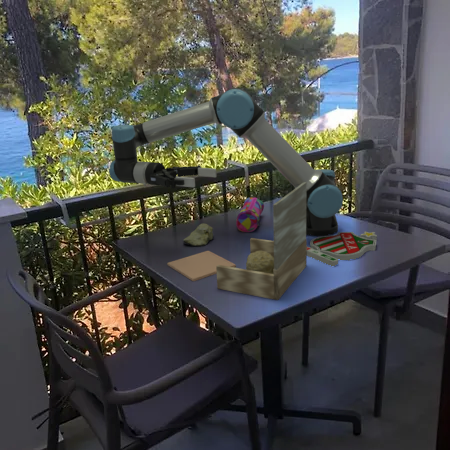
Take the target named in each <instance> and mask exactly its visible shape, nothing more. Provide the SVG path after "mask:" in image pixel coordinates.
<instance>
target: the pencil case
mask: <svg viewBox="0 0 450 450" xmlns="http://www.w3.org/2000/svg"><path fill="white" fill-rule="evenodd" d="M264 210H265V205H264V202H263V201H262V200H260V199H259V198H257V197H247V198H246V199H245V200H244V203H243V206H242V208H241V209H240V211H239V213H238V215H237V217H236V219H235V220H236V221H235V224H236V228H237V229H238V231H240V232H242V233H252V232H255V230H256V229H257V228H258V226H261V225H262V224H261V222H260V219H261V215H262V213H263V211H264Z"/></svg>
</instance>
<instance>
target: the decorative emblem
mask: <svg viewBox="0 0 450 450" xmlns="http://www.w3.org/2000/svg"><path fill="white" fill-rule="evenodd" d="M359 235H360V236H359ZM359 235H358V234H355V232H353V231H337V233H335V234H331V235H327V236H316V237H315V238H312V239H311V240H310V242H309V246H307V257H309V258H311V257H312V259H313V258H314V259H313V260H316V261H318V260H319V261H318V262H320V261H321V262H320V263H322V262H323V264H325V263H326V264H325V265H327V264H328V265H327V266H329V265H331V266H330V267H332V266H335V265H337V264H338V265H339V261H340V260H348V261H351V260H350V259H354V260H357V259H356V258H358V259H360V258H361V256H362V255H363V256H364V254H365V253H367V252H369V251H371V252H373V251H374V252H375V251H376V247H377V241H378V235H377V234H376V232H375V231H372V232H368V231H364V232H363V233H361V234H359ZM363 256H362V257H363ZM359 257H360V258H359ZM338 259H340V260H338ZM335 267H336V266H335Z"/></svg>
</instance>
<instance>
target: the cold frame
mask: <svg viewBox="0 0 450 450" xmlns="http://www.w3.org/2000/svg"><path fill="white" fill-rule="evenodd" d="M306 187H307V182H304V183H302V184H301V185H299V186H298V187H297V188H295V187H294V189H293V190H291V191H290V192H288V193H287V194H286V195H285V196H283V197H282V198H280V199H279V200H278V201H276V202H275V203H273V205H272V207H273V209H272V210H273V211H272V213H273V214H272V215H273V216H272V219H273V240H270V239H269V240H268V239H261V238H255V237H251V238H250V239H249V242H250V243H249V244H250V245H249V246H250V253H255V252H256V251H265V252H267V253H269V254H271V256H272V257H273V258H274V269H273V272H274V274H270V273H264V272H258V271H252V270H246V268H239V267H228V266H222V265H217V266H216V271H217V274H216V286H217V289H218V290H224V291H228V292H233V293H238V294H244V295H250V296H255V297H259V298H264V299H269V300H275V301H279V300H280V299H281V297H282V296H283V295H284V294H285V293H286V292H287V290H288V289H289V288H290V287H291V285H292V284H293V283H294V282H295V281H296V279H297V278H298V277H299V276H300V274H301V273H302V272H303V270H305V269H306V267H307V257H308V256H307V247H308V246H307V244H308V243H307V235H306Z"/></svg>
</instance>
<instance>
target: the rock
mask: <svg viewBox="0 0 450 450" xmlns="http://www.w3.org/2000/svg"><path fill="white" fill-rule="evenodd" d="M213 231H214V227H212V226H210V225H209V224H207V223H200V224H199V225H197V227H196V228H195V230H193V231H191V232H190V234H189V235H188V236H186V237H185V238H183V241H182V242H183V243H184V244H185V245H188V246H189V247H198V248H199V247H200V248H201V247H204V246H206V245H207V244H208V243H209V242H210V241H212V240H213V238H214V232H213Z"/></svg>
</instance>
